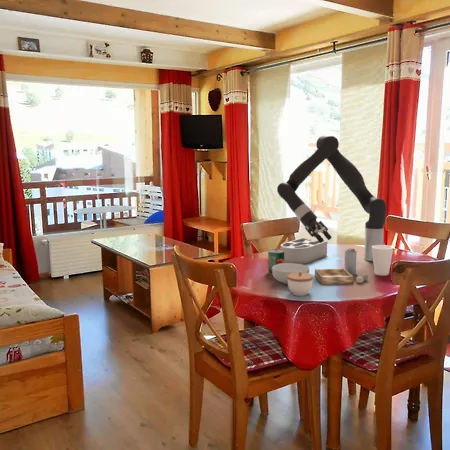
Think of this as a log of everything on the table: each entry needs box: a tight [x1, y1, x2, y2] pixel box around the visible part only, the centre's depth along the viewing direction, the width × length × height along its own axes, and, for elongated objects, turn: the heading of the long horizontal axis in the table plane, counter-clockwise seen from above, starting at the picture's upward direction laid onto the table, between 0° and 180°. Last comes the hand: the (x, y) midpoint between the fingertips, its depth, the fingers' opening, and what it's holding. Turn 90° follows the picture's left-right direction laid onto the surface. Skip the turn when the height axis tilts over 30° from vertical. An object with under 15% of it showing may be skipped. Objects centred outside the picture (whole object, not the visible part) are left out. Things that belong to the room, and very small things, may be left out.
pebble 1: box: [355, 275, 364, 284], centre depth 209 cm, size 3×3×3 cm
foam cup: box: [372, 244, 394, 276], centre depth 223 cm, size 10×9×13 cm
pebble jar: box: [344, 247, 357, 276], centre depth 224 cm, size 5×5×13 cm
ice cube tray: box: [280, 237, 329, 265], centre depth 258 cm, size 17×28×9 cm, turn 140°
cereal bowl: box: [271, 262, 310, 285], centre depth 213 cm, size 17×17×7 cm
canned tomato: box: [267, 248, 285, 276], centre depth 229 cm, size 8×8×11 cm
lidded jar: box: [287, 272, 314, 297], centre depth 196 cm, size 11×11×9 cm
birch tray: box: [314, 267, 354, 285], centre depth 216 cm, size 14×14×3 cm
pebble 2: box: [360, 273, 369, 282], centre depth 212 cm, size 3×3×3 cm
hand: (326, 240), depth 228 cm, fingers open, 8 cm apart
